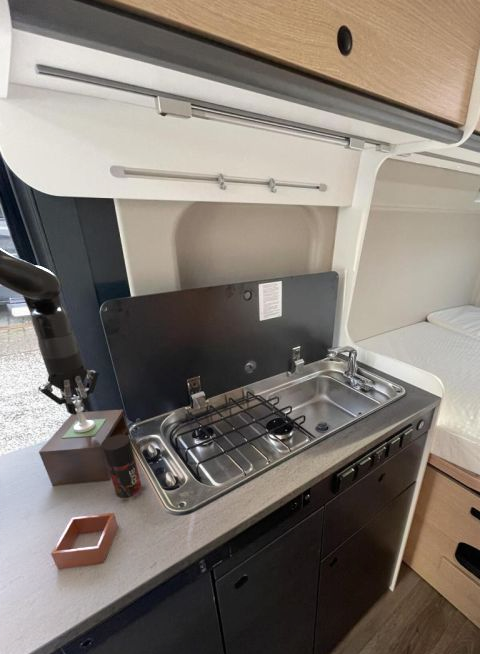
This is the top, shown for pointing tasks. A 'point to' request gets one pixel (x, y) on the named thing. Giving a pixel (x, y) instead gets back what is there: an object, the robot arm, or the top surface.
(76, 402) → the chess piece
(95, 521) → the reddish-brown hollow diamond-shaped frame
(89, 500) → the top surface
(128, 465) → the deodorant
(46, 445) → the green-topped wooden plinth
